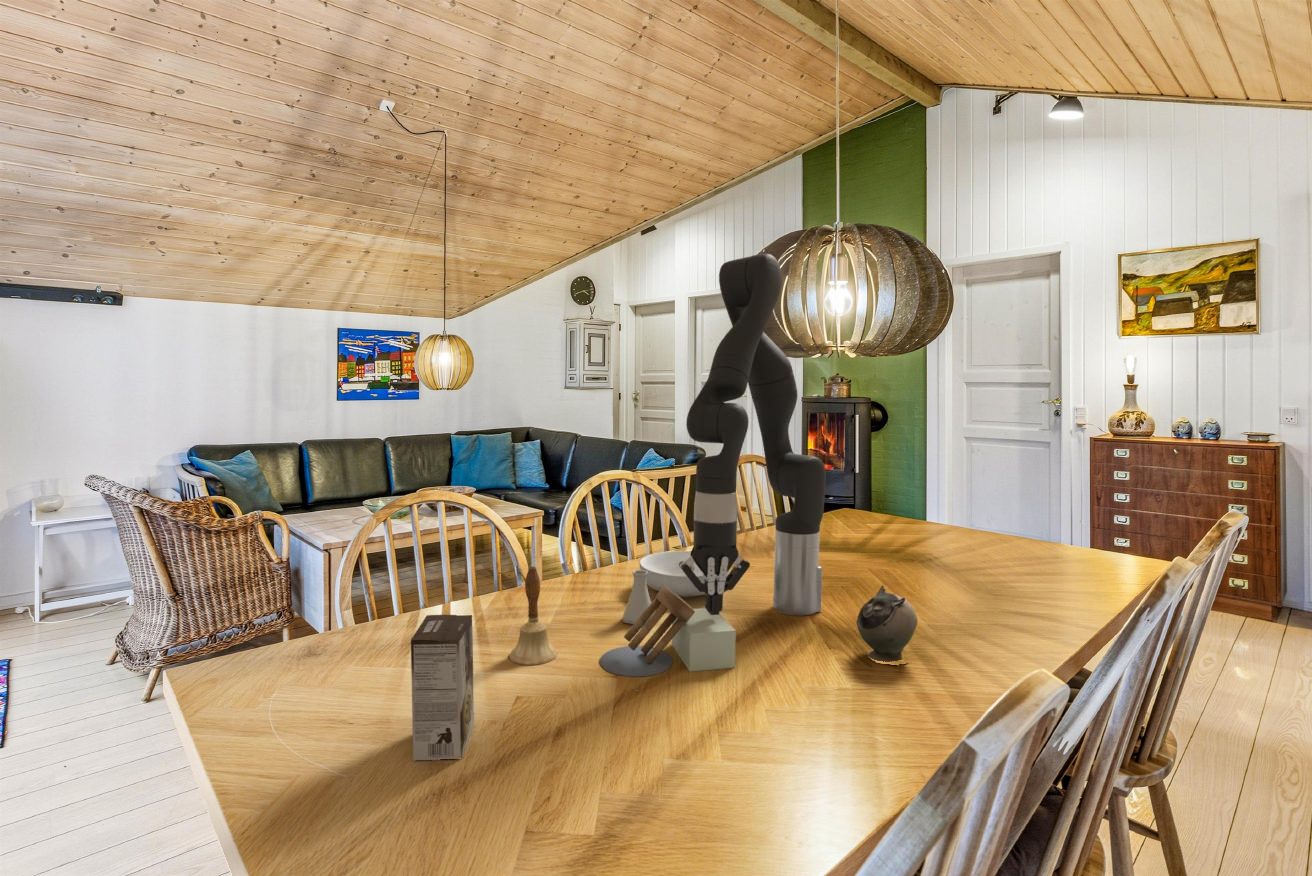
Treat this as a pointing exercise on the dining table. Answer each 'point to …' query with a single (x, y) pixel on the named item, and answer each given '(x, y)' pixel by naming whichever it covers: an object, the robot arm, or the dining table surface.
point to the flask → (637, 598)
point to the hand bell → (533, 630)
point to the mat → (634, 662)
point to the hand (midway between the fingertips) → (713, 613)
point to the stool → (677, 611)
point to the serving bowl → (670, 572)
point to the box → (706, 642)
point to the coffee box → (442, 687)
